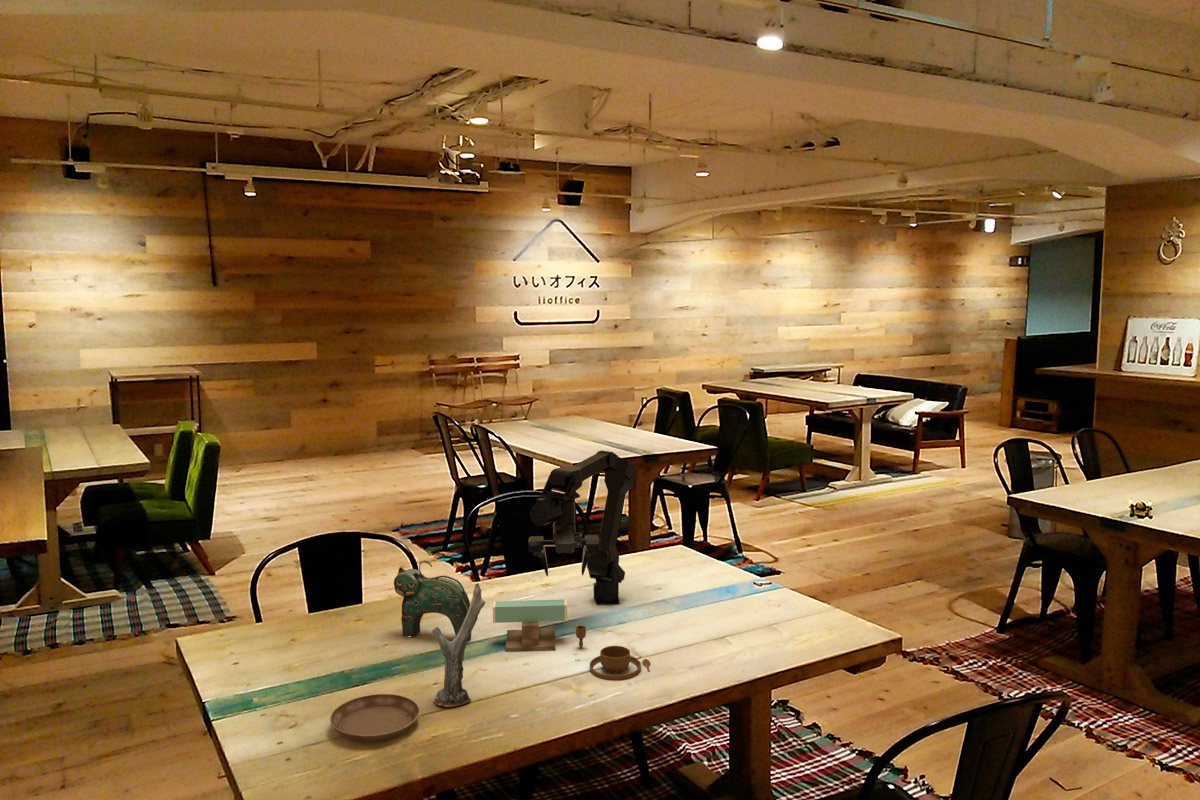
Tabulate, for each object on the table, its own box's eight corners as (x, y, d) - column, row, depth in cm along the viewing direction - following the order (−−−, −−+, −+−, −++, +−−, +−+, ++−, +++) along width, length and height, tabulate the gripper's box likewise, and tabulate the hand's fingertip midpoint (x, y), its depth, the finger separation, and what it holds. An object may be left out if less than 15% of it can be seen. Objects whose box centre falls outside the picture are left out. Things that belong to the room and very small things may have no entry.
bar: (492, 623, 225) (492, 607, 224) (493, 616, 229) (493, 601, 229) (567, 620, 226) (567, 605, 226) (566, 614, 230) (566, 599, 230)
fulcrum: (554, 632, 234) (554, 609, 233) (555, 650, 223) (554, 626, 222) (507, 633, 233) (506, 611, 233) (505, 651, 223) (505, 628, 222)
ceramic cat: (394, 637, 232) (391, 561, 229) (406, 627, 238) (404, 553, 235) (466, 646, 226) (463, 568, 223) (477, 636, 232) (475, 560, 229)
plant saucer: (426, 705, 196) (426, 692, 196) (411, 749, 179) (411, 734, 178) (343, 707, 196) (342, 693, 195) (320, 750, 178) (319, 735, 178)
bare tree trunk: (439, 711, 193) (436, 597, 189) (428, 696, 200) (424, 586, 196) (491, 699, 198) (488, 588, 194) (478, 685, 205) (475, 577, 201)
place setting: (578, 684, 206) (578, 659, 205) (572, 648, 226) (572, 625, 225) (655, 681, 208) (655, 656, 207) (643, 645, 228) (643, 622, 227)
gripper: (527, 526, 229) (528, 586, 231) (602, 525, 230) (602, 584, 233) (528, 514, 240) (529, 572, 242) (599, 513, 241) (599, 570, 244)
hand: (564, 575), depth 240 cm, fingers open, 9 cm apart
